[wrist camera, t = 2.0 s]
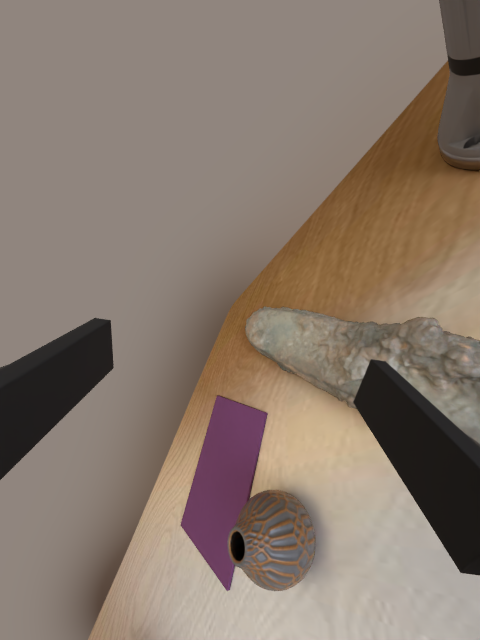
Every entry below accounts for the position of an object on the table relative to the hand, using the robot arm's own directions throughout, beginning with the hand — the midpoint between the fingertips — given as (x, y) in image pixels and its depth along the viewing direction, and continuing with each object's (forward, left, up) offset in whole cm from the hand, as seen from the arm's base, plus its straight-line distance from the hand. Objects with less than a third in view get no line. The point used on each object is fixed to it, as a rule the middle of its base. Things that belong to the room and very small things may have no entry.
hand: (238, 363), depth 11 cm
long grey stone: (-6, -3, -19) cm, 20 cm away
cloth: (+13, -19, -19) cm, 30 cm away
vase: (+13, -6, -19) cm, 24 cm away
